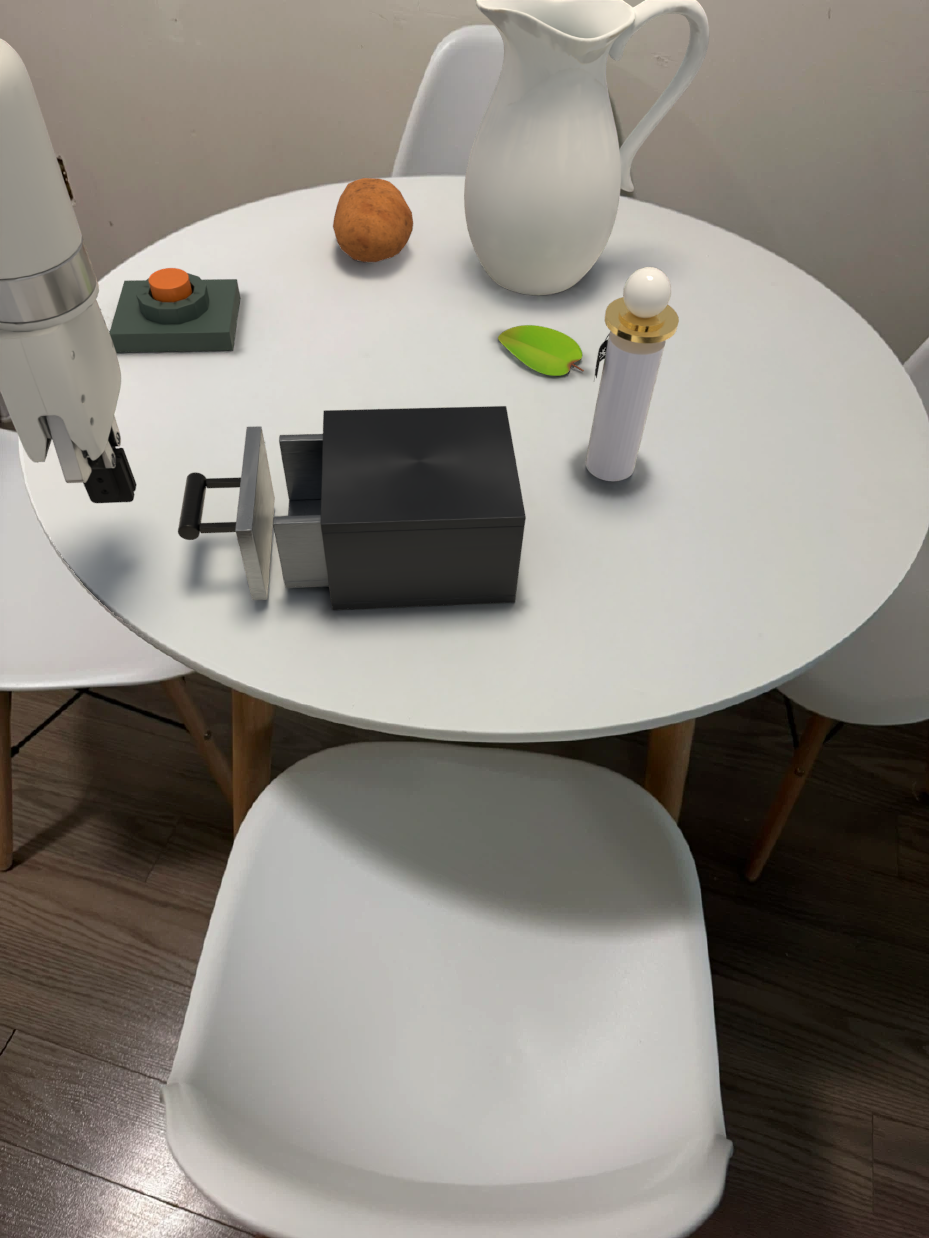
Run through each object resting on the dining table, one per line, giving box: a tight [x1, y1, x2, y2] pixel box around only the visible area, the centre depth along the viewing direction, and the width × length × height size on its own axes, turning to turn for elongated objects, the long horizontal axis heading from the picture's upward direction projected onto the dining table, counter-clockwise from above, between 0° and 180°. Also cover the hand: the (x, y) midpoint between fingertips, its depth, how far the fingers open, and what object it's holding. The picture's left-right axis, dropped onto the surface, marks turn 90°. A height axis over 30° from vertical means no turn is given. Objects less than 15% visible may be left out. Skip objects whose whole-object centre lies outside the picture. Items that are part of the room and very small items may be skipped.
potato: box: [332, 177, 414, 263], centre depth 101 cm, size 9×11×8 cm
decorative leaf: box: [497, 324, 585, 377], centre depth 92 cm, size 8×9×1 cm
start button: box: [148, 267, 192, 302], centre depth 90 cm, size 4×4×2 cm
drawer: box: [177, 425, 329, 601], centre depth 70 cm, size 19×12×8 cm, turn 95°
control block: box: [109, 272, 241, 354], centre depth 92 cm, size 12×10×4 cm
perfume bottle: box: [584, 266, 680, 482], centre depth 74 cm, size 6×6×20 cm
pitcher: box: [463, 0, 710, 296], centre depth 92 cm, size 24×17×28 cm
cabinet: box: [321, 405, 527, 611], centre depth 71 cm, size 15×13×10 cm
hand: (114, 495), depth 67 cm, fingers closed
